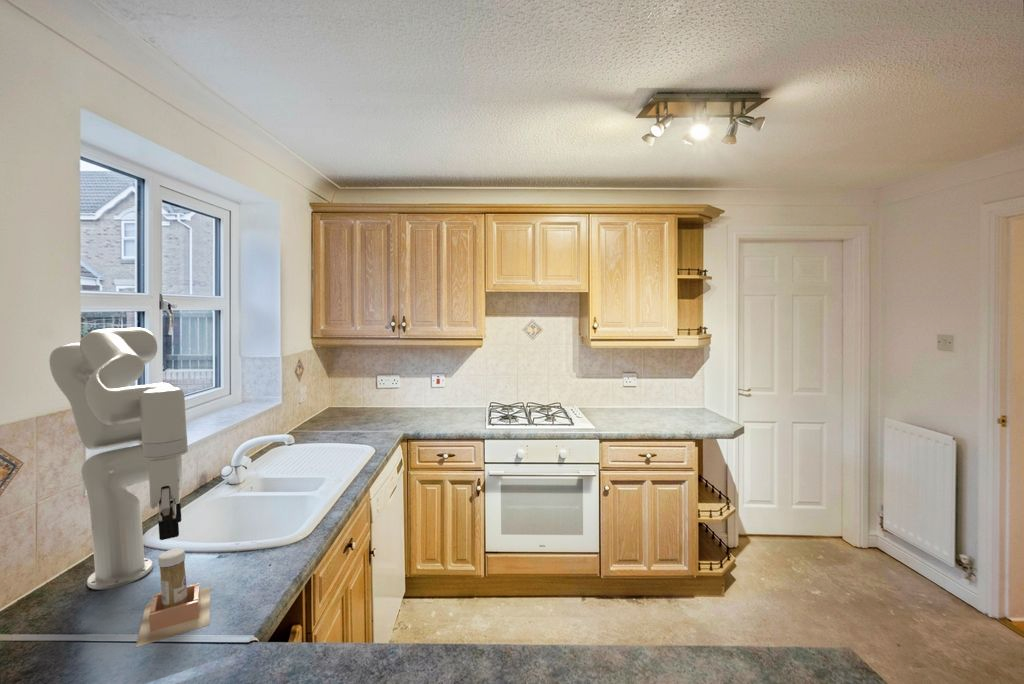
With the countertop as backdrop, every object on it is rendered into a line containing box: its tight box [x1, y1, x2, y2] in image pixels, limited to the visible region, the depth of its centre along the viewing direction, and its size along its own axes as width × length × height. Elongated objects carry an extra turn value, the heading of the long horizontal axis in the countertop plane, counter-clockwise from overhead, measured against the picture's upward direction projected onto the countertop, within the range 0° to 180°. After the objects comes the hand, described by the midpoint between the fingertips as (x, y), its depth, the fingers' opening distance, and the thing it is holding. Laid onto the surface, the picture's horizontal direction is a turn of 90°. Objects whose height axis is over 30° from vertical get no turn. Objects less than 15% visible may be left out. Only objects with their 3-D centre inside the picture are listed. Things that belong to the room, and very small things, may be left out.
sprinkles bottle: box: [157, 548, 188, 609], centre depth 101 cm, size 5×5×14 cm
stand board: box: [135, 586, 211, 648], centre depth 101 cm, size 16×12×1 cm
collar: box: [149, 582, 201, 632], centre depth 101 cm, size 8×8×4 cm
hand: (171, 529), depth 100 cm, fingers open, 7 cm apart
